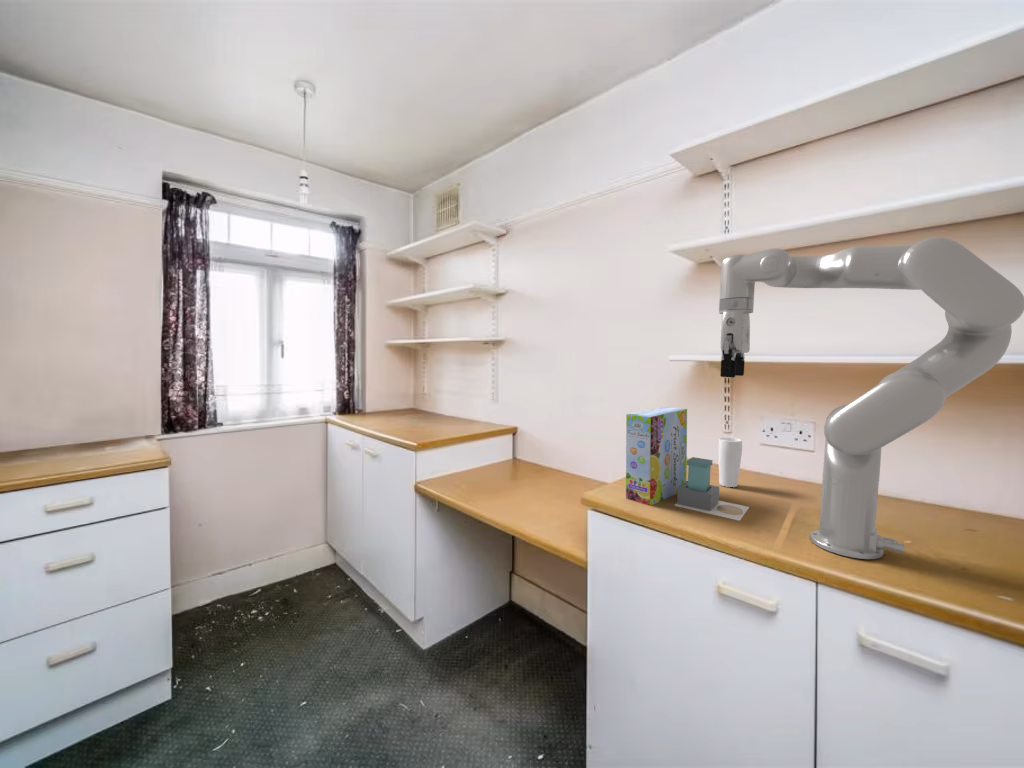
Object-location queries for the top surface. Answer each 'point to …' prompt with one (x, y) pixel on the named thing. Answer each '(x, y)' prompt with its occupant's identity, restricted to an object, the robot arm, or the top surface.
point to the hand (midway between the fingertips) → (732, 376)
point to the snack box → (655, 454)
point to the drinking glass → (729, 461)
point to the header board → (708, 502)
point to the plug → (699, 474)
